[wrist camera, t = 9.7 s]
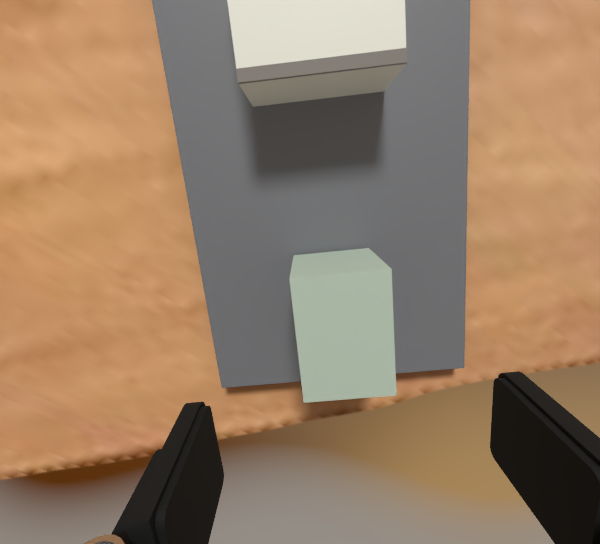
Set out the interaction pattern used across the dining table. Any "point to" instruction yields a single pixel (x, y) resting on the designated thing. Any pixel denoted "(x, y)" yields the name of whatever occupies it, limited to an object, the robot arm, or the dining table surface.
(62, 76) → the dining table surface
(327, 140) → the grey base plate
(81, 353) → the dining table surface
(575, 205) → the dining table surface
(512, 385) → the robot arm
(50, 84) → the dining table surface
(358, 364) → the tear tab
